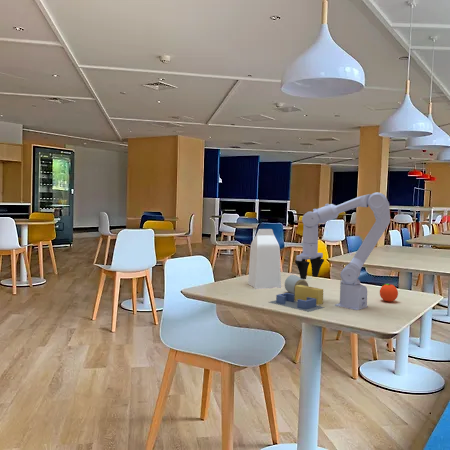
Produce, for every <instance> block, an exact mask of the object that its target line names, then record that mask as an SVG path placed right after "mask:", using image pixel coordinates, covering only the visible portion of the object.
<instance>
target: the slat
mask: <svg viewBox="0 0 450 450" xmlns="http://www.w3.org/2000/svg"><path fill="white" fill-rule="evenodd" d="M307 297H310V298H315V299H316V306H320V305H323V303H324V288H318V287H312V286H309V285H308V286H303V285H297V286H295V301H297V300H298V299H300V300H305V301H306V300H307Z"/></svg>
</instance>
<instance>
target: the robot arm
mask: <svg viewBox="0 0 450 450" xmlns="http://www.w3.org/2000/svg"><path fill="white" fill-rule="evenodd" d="M359 207H361V208H368V207H369V208H370V210H371V211H372V212H373V216H374V218H375V221H374V223H373V225H372V226H371V228H370V230H369V231H368V233H367V234H366V236H365V238H364V239H363V241H362V243H361V245H360V246H359V248H358V249H357V251H356V252H355V254H354V256H353V257H352V259H351V260H350V262H349V263H348V264H346V265H345V266H344V268H343V269H342V270H341V271H340V279H341V280H340V283H339V303H336V304H334V306H335V307H340V308H345V309H350V310H353V311H360V310H363V309H367V308H369V306H368V288H367V286H366V285H363V284H362V283H361V280H360V279H359V277H360V276H361V270H362V268H363V266H364V264H365V263H366V261H367V259H368V258H369V256H370V255H371V254H372V252H373V250H374V249H375V247H376V245H377V244H378V242H379V240H380V239H381V238H382V235H383V234H384V233H385V231H386V229H387V228H388V226H389V225H390V223H391V213H390V212H391V211H390V202H389V201H388V198H387V195H385V194H383V193H382V192H379V191H378V192H377V191H376V192H373V193H371V194H370V193H368V194H364V195H360V196H356V197H355V198H352V199H350V200H347V201H344V202H343V203H340V204H337V205H336V204H334V203H330V204H329V203H325V204H324V206H322V207H318V208H313V209H312V211H307V212H305V213H304V214H303V215H302V217H301V221H302V224H303V230H302V253H301V252H300V254H298V255H296V258H295V259H294V261H295V265H296V267H297V269H298V272H299V273H298V274H299V276H300V278H301V279H304V280H307V277H308V276H307V275H308V268H309V265H311V276H312V278H313V277H314V278H318V276H319V274H320V271H321V267H322V265H323V263H324V262H325V259H324V258H323V256H324V254H323V252H318V251H319V250H318V249H319V224H324V223H327V222H329V221H332V220H334V219H337V218H338V216H339V214H341V213H344V212H347V211H350V210H353V209H356V208H359ZM307 260H309V261H307Z"/></svg>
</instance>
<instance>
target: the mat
mask: <svg viewBox="0 0 450 450" xmlns="http://www.w3.org/2000/svg"><path fill="white" fill-rule="evenodd" d="M268 303H270V304H273V305H277V306H278V305H279V306H282V307H286V308H290V309H294V310H299V311H302V312H303V311H304V312H307V313H309V312H313V311H317V310H321V309H324V308H325V306H320V305H316V307H314V308H310V309H306V310H305V309H301V308H297V300H295V302H290V301H285V304H280V303H276V300H272V301H268Z"/></svg>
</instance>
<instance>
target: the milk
mask: <svg viewBox="0 0 450 450" xmlns="http://www.w3.org/2000/svg"><path fill="white" fill-rule="evenodd" d="M248 263H249V264H248V280H247V284H248V285H250V286H251V287H252V288H254V289H255V290H257V289H258V290H259V289H273V288H277V289H278V288H279V289H281V288H282V281H281V280H282V277H281V276H282V275H281V273H282V271H281V248H280V244H279V242H278V240H277V238H276V235H275V234H274V230H273V229H272V228H259V229H258V230H257V232H256V234H255V236H254V238H253V239H252V241H251V243H250V251H249V262H248Z"/></svg>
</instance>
